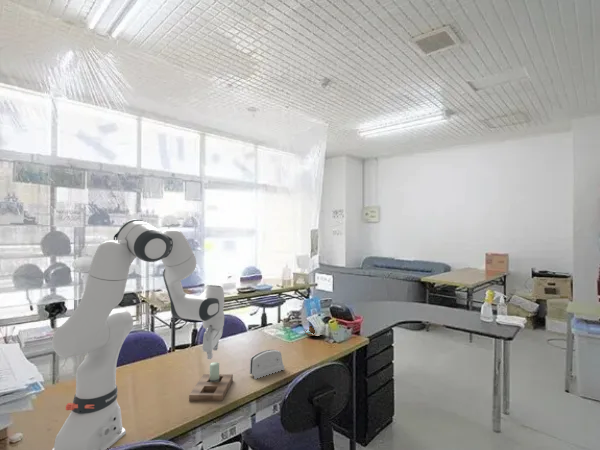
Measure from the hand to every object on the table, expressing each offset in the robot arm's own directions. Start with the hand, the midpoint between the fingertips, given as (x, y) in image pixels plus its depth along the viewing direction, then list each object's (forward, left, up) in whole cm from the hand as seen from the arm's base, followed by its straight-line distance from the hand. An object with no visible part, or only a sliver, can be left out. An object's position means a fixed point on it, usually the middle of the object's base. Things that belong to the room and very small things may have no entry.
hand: (212, 354), depth 144 cm
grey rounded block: (+12, -22, -14) cm, 29 cm away
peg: (-1, -1, -13) cm, 13 cm away
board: (-5, -1, -13) cm, 14 cm away
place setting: (+71, -47, -14) cm, 86 cm away
